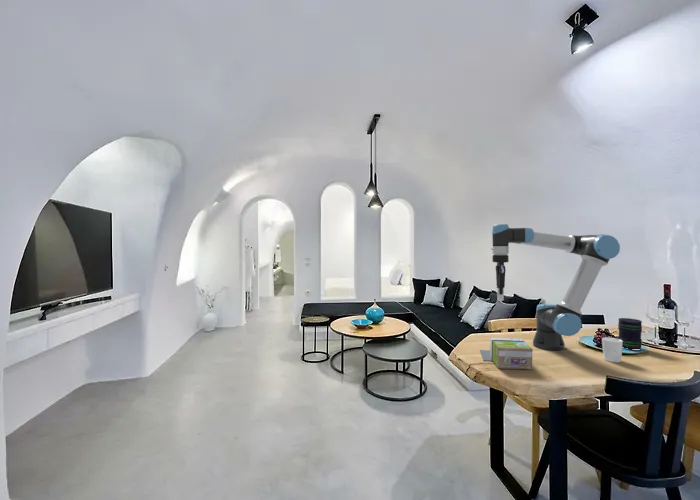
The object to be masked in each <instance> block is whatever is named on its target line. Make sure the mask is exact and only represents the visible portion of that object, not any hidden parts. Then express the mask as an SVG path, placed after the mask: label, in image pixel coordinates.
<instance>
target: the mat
mask: <svg viewBox="0 0 700 500" xmlns="http://www.w3.org/2000/svg"><path fill="white" fill-rule="evenodd" d="M479 352H480V356H481V357H482V360H483V361H485V362H486V361H487V362H494V361H493V360H492V358H491V357H490V350H488V349H479Z"/></svg>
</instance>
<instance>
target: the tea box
mask: <svg viewBox="0 0 700 500" xmlns="http://www.w3.org/2000/svg"><path fill="white" fill-rule="evenodd" d="M489 347H490V348H489V349H490V350H489V351H490V357H491V358H492V360H493V361H492V362H493V364H495V366H496V368H497V369H504V370H509V369H510V370H530V371H531V370H533V350H534V349H533V348H532V347H531V346H530V345H529V344H528V343H527V342H526V341H525V340H524V339H522V338H512V337H511V338H509V337H507V338H506V337H505V338H504V337H490V346H489Z"/></svg>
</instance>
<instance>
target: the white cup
mask: <svg viewBox="0 0 700 500" xmlns="http://www.w3.org/2000/svg"><path fill="white" fill-rule="evenodd" d="M601 343H602V345H601V346H602V354H603V360H605V361H607V362H610V363H621V362H622V356H623V355H622V354H623V348H622V345H623V341H622V340H620V339H618V338H616V337H606V336H605V337H602V338H601Z"/></svg>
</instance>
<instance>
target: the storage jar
mask: <svg viewBox="0 0 700 500" xmlns="http://www.w3.org/2000/svg"><path fill="white" fill-rule="evenodd" d="M642 323H643V321H642V320H640V319H636V318H630V317H629V318H627V317H620V318H618V323H617V325H618V337H617V339H620V340H622V341H623V345H622V347H624V348H628V349H641V350H642V342H643V341H642V331H643V326H642Z"/></svg>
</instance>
